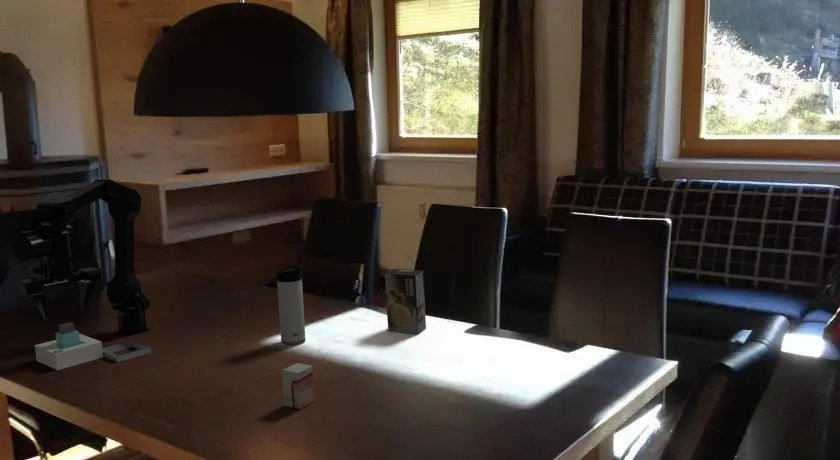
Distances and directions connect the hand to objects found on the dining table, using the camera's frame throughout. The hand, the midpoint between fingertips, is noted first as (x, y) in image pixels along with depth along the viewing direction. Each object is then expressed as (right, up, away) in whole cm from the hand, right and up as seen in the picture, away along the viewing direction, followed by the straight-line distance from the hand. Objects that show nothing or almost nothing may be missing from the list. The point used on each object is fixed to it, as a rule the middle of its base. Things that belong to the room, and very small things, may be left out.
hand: (64, 314), depth 191 cm
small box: (+63, -15, -31) cm, 72 cm away
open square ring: (+13, -10, +5) cm, 18 cm away
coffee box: (+84, -6, +17) cm, 86 cm away
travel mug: (+55, -8, +10) cm, 57 cm away
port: (0, -11, +2) cm, 12 cm away
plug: (0, -11, +2) cm, 12 cm away
